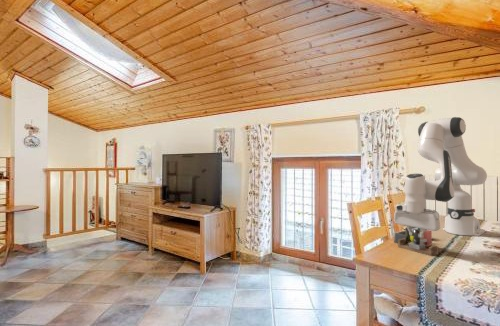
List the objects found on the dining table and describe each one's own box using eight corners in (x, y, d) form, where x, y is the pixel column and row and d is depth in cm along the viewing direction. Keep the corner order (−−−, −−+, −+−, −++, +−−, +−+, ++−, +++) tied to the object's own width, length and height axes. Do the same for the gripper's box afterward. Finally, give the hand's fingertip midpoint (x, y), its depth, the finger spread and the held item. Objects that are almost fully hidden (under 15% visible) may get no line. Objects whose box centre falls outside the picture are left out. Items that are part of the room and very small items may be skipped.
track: (404, 245, 142) (404, 238, 142) (437, 253, 128) (437, 246, 128) (398, 247, 139) (397, 239, 139) (431, 255, 125) (431, 247, 125)
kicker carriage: (424, 242, 141) (424, 225, 141) (435, 245, 136) (434, 227, 136) (409, 247, 135) (408, 229, 135) (419, 249, 130) (419, 231, 130)
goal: (407, 239, 153) (406, 222, 153) (420, 242, 146) (420, 225, 146) (393, 242, 147) (393, 225, 147) (407, 245, 141) (406, 228, 141)
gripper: (442, 209, 126) (443, 240, 126) (399, 204, 144) (400, 231, 144) (435, 211, 123) (436, 242, 123) (391, 205, 141) (392, 233, 141)
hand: (416, 236), depth 134 cm, fingers open, 3 cm apart
